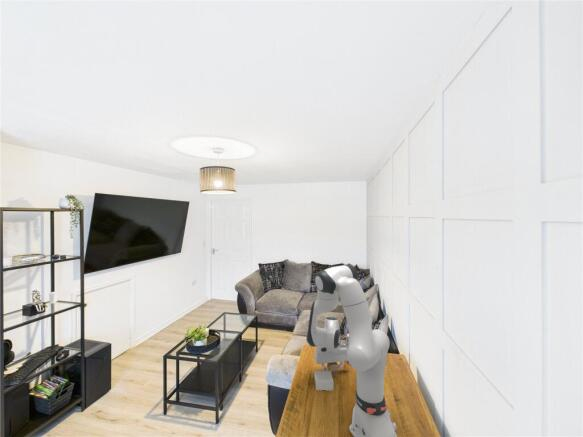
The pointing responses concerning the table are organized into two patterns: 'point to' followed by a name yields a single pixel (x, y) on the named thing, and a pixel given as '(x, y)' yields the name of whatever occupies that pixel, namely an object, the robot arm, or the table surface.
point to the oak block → (333, 368)
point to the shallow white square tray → (323, 380)
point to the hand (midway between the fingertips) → (332, 369)
